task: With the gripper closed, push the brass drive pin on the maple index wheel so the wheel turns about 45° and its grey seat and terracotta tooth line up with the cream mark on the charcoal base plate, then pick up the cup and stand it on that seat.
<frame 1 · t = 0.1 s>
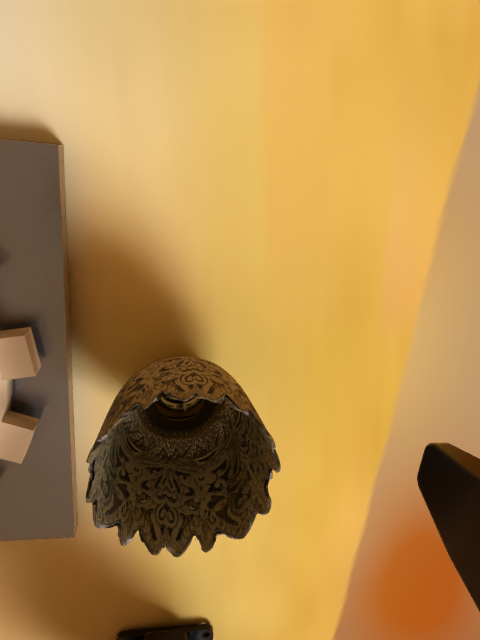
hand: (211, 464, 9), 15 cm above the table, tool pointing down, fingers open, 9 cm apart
cup: (179, 380, 25), on the table
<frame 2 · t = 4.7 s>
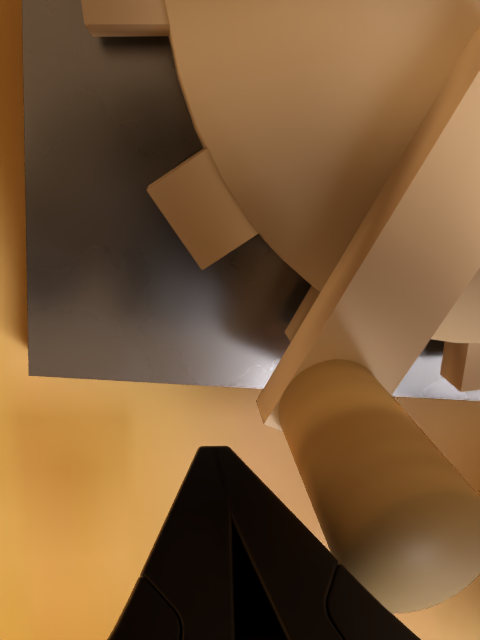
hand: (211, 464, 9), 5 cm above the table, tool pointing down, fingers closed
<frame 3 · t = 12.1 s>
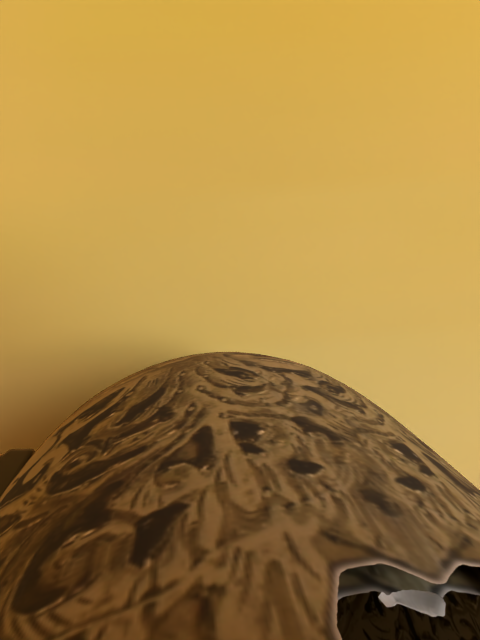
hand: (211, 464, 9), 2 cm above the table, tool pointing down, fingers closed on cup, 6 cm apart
cup: (203, 412, 10), on the table, touching gripper
when the fingers open (6 cm above the table, at t = 16.2 s): cup drops 1 cm, resting on index wheel.
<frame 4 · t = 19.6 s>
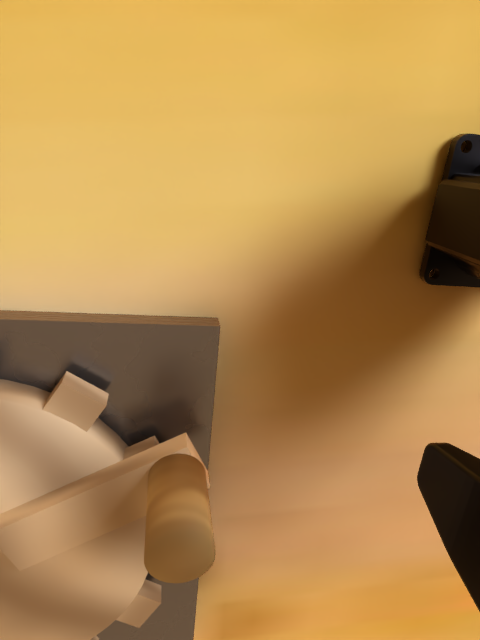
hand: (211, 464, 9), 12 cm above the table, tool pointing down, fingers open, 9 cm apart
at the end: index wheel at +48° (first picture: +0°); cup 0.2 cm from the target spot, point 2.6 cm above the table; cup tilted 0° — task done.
